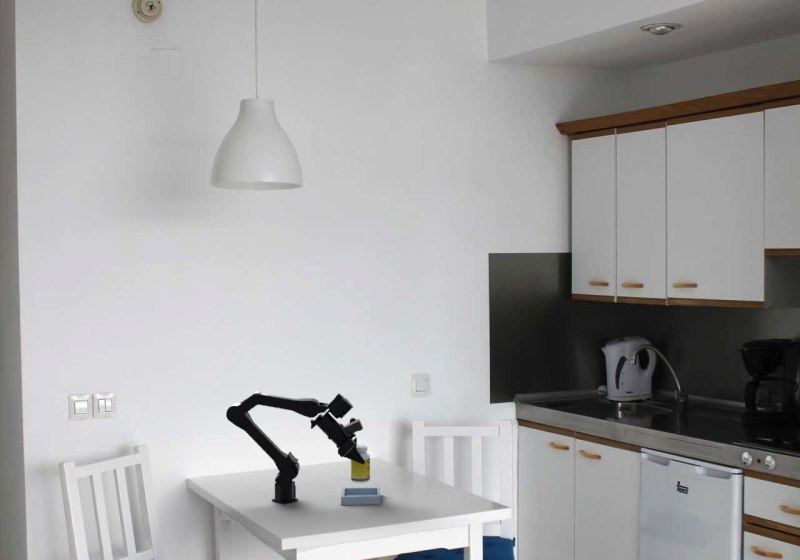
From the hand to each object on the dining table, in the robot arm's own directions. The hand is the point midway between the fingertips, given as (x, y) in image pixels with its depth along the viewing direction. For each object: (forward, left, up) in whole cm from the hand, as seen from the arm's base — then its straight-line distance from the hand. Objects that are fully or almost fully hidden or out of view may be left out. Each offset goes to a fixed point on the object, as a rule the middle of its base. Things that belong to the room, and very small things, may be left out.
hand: (364, 461), depth 308 cm
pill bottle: (-1, +1, -7) cm, 7 cm away
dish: (-1, +1, -13) cm, 13 cm away
